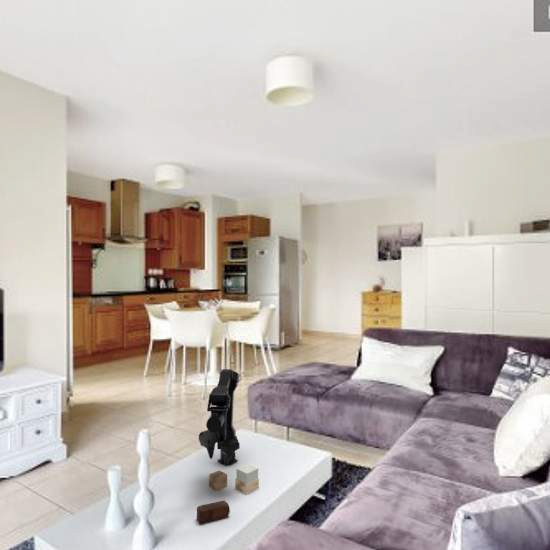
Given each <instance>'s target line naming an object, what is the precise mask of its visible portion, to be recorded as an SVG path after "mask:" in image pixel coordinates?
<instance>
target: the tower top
mask: <svg viewBox="0 0 550 550" xmlns="http://www.w3.org/2000/svg"><path fill="white" fill-rule="evenodd" d="M235 473H236V474H235V476H236V478H235V479H238V480H240V481H242V482H244V483H246V484H248V483H250V482H252V481H254V480H256V479H258V478H259V468H258V467H256V466H254V465H251V464H250V463H246V464H243V465H242V466H238V467H237V468H236V472H235Z"/></svg>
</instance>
